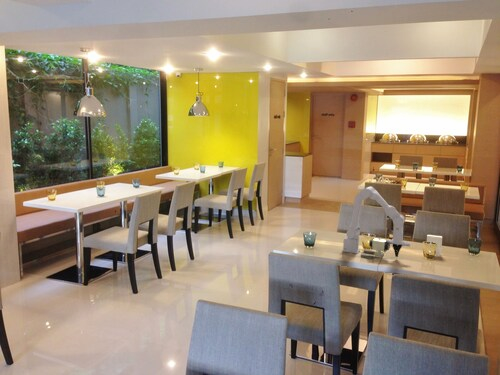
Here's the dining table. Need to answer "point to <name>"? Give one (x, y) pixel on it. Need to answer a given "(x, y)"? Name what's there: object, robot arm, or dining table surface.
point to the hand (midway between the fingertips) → (396, 256)
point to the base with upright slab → (436, 240)
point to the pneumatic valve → (379, 246)
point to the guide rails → (368, 255)
